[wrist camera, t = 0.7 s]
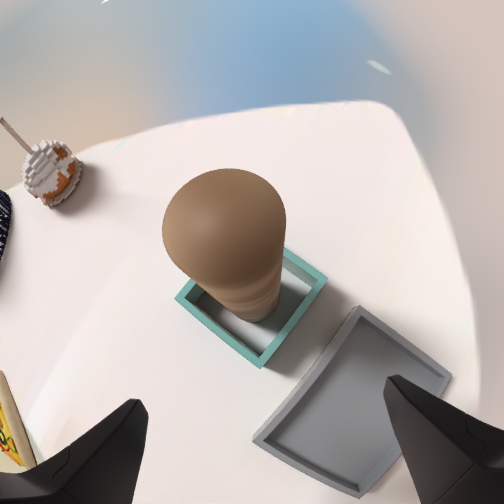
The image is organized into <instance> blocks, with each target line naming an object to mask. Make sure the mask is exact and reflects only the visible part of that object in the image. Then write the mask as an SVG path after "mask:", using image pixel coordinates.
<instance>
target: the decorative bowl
mask: <svg viewBox="0 0 504 504" xmlns="http://www.w3.org/2000/svg"><path fill="white" fill-rule="evenodd" d="M4 196H5V197H4ZM6 198H7V199H6ZM0 200H1V201H2V202H3V203H4V204H5V205H6V206H7V207H9V208H10V209H8V208H7V207H6V206H5V205H4V204H3V203H2V202H1V201H0V204H1V205H2V206H3V207H4V208H5V209H6V210H8V212H9V214H8V213H6V212H5V211H4V210H3V209H2V208H1V207H0V215H2V216H0V219H1V221H0V225H2V226H3V227H4V228H6V229H7V231H5V230H3V229H2V228H1V227H0V235H2V236H1V237H0V241H1V243H3V244H4V245H1V246H0V248H1V249H2V251H0V260H1V256H2V254H3V251H4V250H3V249H4V248H5V244H6V239H7V236H8V230H9V227H10V226H9V224H10V220H11V219H10V217H11V216H10V215H11V206H10V205H11V203H10V201H11V200H10V198H9V196H8V195H7V194H6V193H5V192H3V191H2V190H0ZM1 211H2V212H4V214H3V213H2V212H1ZM5 214H6V215H7V216H8V217H4V216H5ZM2 220H3V221H2ZM6 223H7V224H8V225H7V224H6ZM3 235H5V236H6V237H4V236H3Z"/></svg>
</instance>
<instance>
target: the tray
mask: <svg viewBox="0 0 504 504" xmlns="http://www.w3.org/2000/svg"><path fill="white" fill-rule="evenodd" d="M394 374H399V375H401V376H402V377H404V378H406V379H407V380H409V381H411V382H413V383H414V384H416V385H418V386H419V387H421V388H423V389H424V390H426V391H428V392H430V393H431V394H433V395H435V396H437V397H438V398H440V396H441V395H442V393H443V391H444V389H445V387H446V386H447V384H448V382H449V380H450V378H451V376H452V374H451V373H450V372H448V371H447V370H446V369H445V368H443V367H442V366H441V365H439V364H438V363H437V362H435V361H434V360H433V359H431V358H430V357H429V356H427V355H426V354H425V353H424V352H422V351H421V350H420V349H418V348H417V347H416V346H414V345H413V344H412V343H410V342H409V341H408V340H406V339H405V338H403V337H402V336H401V335H399V334H398V333H397V332H395V331H394V330H393V329H391V328H390V327H389V326H387V325H386V324H385V323H383V322H382V321H380V320H379V319H378V318H376V317H375V316H374V315H372V314H371V313H370V312H368V311H367V310H365V309H364V308H363V307H361V306H360V305H358V306H356V307H354V308H353V309H352V310H351V312H350V313H349V315H348V316H347V318H346V319H345V321H344V322H343V324H342V325H341V327H340V328H339V330H338V331H337V332H336V334H335V335H334V337H333V338H332V340H331V341H330V342H329V344H328V345H327V347H326V348H325V349H324V351H323V352H322V353H321V355H320V356H319V357H318V359H317V360H316V361H315V363H314V364H313V365H312V367H311V368H310V369H309V371H308V372H307V373H306V374H305V376H304V377H303V378H302V380H301V381H300V382H299V383H298V385H297V386H296V387H295V388H294V389H293V391H292V392H291V393H290V394H289V395H288V397H287V398H286V399H285V400H284V401H283V403H282V404H281V405H280V406H279V407H278V408H277V409H276V411H275V412H274V413H273V414H272V415H271V416H270V417H269V419H268V420H267V421H266V422H265V423H264V424H263V425H262V426H261V427H260V428H259V429H258V430H257V432H256V433H255V434H254V436H253V440H252V442H253V443H255V444H256V445H258V446H259V447H261V448H262V449H264V450H265V451H267V452H268V453H270V454H272V455H273V456H275V457H277V458H278V459H280V460H282V461H283V462H285V463H287V464H288V465H290V466H292V467H294V468H295V469H297V470H299V471H301V472H303V473H305V474H306V475H308V476H310V477H312V478H314V479H316V480H318V481H320V482H322V483H324V484H326V485H328V486H330V487H333V488H335V489H337V490H339V491H341V492H344V493H346V494H348V495H351V496H353V497H356V498H358V499H360V498H361V497H362V496H363V495H364V494H365V493H366V492H367V491H368V490H369V489H370V488H371V487H372V486H373V485H374V484H375V483H376V482H377V481H378V480H379V479H380V478H381V477H382V476H383V474H384V473H385V472H386V471H387V470H388V469H389V468H390V466H391V465H392V464H393V463H394V462H395V461H396V459H397V458H398V457H399V456H400V454H401V453H402V451H401V448H400V446H399V443H398V441H397V438H396V436H395V434H394V431H393V428H392V425H391V421H390V418H389V414H388V411H387V407H386V404H385V400H384V397H383V391H384V387H385V382H386V379H387V377H388V376H391V375H394Z"/></svg>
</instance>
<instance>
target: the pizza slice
mask: <svg viewBox="0 0 504 504" xmlns="http://www.w3.org/2000/svg"><path fill="white" fill-rule="evenodd" d="M0 449H1V450H2V451H3V452H4V453H5V454H7V455H8V456H9V457H10V458H11V459H12V460H13V461H14V462H16V463H17V464H19V465H20V466H25V467H26V468H27V470H29V469H31V468H33V467H35V466H37V465H38V464H37V461H36V458H35V455H34V452H33V449H32V446H31V443H30V440H29V437H28V434H27V432H26V429H25V426H24V424H23V423H22V422H21V419H20V416H19V413H18V411H17V408H16V405H15V403H14V400H13V397H12V395H11V392H10V389H9V387H8V384H7V381H6V379H5V376H4V374H3V372H2V371H1V370H0Z"/></svg>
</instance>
